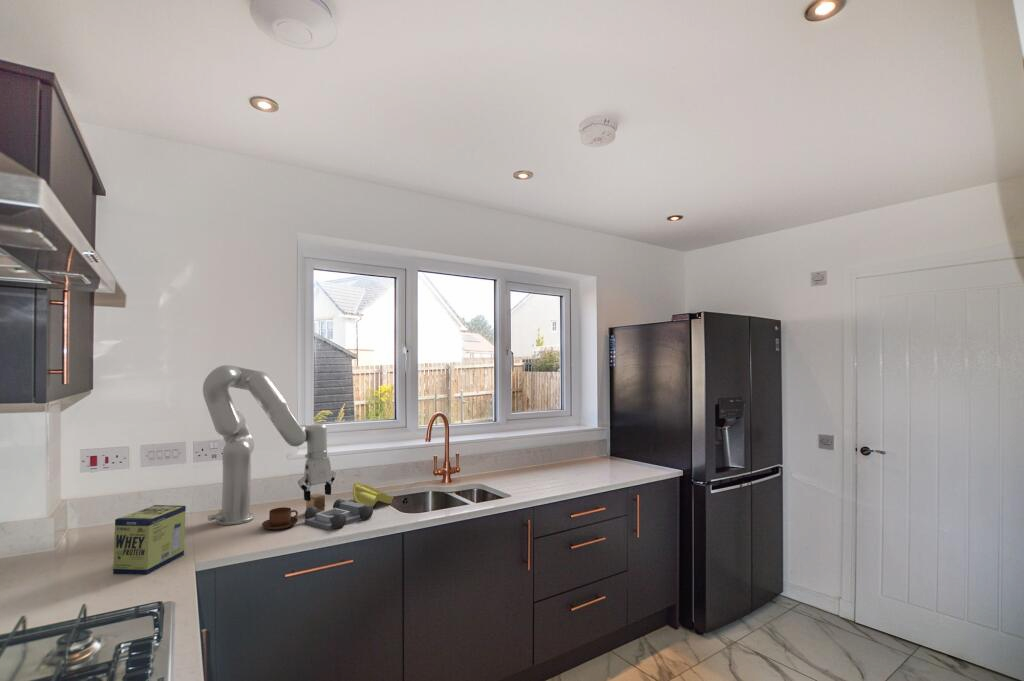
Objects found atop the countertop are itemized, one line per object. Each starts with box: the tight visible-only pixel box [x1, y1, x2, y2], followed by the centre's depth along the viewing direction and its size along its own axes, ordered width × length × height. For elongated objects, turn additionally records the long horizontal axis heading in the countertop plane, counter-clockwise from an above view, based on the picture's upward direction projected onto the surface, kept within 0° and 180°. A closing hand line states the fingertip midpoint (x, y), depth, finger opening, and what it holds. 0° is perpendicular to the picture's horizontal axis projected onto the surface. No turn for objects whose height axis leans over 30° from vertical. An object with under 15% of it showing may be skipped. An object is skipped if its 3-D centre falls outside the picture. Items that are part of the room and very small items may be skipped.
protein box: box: [112, 504, 187, 576], centre depth 150 cm, size 10×16×16 cm
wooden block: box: [305, 492, 326, 512], centre depth 203 cm, size 5×5×7 cm
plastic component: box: [352, 481, 394, 508], centre depth 219 cm, size 20×8×10 cm
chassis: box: [303, 498, 374, 531], centre depth 193 cm, size 20×18×5 cm
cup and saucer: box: [261, 506, 299, 530], centre depth 185 cm, size 12×12×6 cm
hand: (317, 497), depth 203 cm, fingers open, 9 cm apart
